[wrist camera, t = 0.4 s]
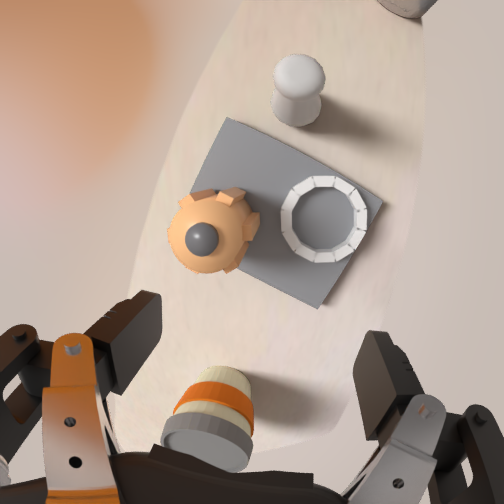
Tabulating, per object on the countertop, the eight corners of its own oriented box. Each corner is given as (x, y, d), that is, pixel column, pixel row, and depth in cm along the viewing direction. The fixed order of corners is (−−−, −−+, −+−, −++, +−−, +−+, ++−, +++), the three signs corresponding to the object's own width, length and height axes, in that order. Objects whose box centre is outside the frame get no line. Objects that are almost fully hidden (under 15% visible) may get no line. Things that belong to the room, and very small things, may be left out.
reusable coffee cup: (227, 417, 46) (211, 480, 32) (175, 378, 45) (143, 441, 30) (277, 389, 42) (270, 461, 28) (220, 344, 41) (193, 415, 27)
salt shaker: (306, 80, 29) (316, 35, 17) (326, 119, 31) (349, 91, 18) (263, 97, 31) (251, 58, 18) (283, 136, 32) (282, 116, 20)
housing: (229, 119, 32) (199, 93, 20) (378, 199, 33) (423, 215, 20) (177, 230, 37) (130, 259, 25) (316, 302, 37) (326, 359, 25)
